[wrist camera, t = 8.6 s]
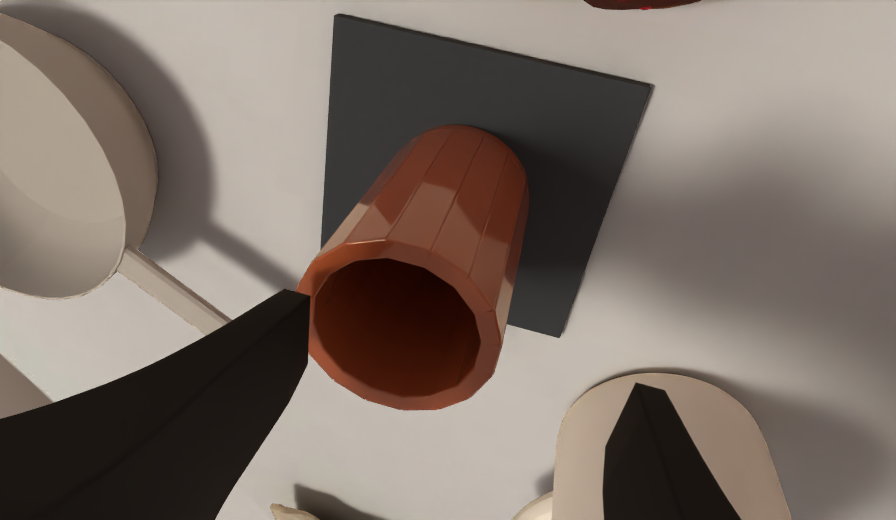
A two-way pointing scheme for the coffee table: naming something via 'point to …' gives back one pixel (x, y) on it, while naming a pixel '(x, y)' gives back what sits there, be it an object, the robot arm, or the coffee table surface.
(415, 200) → the terracotta cup
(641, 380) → the mug
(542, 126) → the mat
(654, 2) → the donut
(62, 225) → the frying pan
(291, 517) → the decorative stone
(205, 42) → the coffee table surface
